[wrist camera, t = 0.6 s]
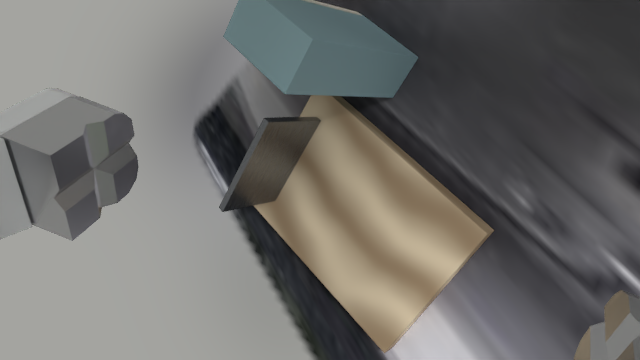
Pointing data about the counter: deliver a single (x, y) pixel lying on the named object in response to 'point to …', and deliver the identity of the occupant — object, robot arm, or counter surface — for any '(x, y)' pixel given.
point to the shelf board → (372, 222)
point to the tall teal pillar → (318, 48)
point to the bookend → (269, 161)
